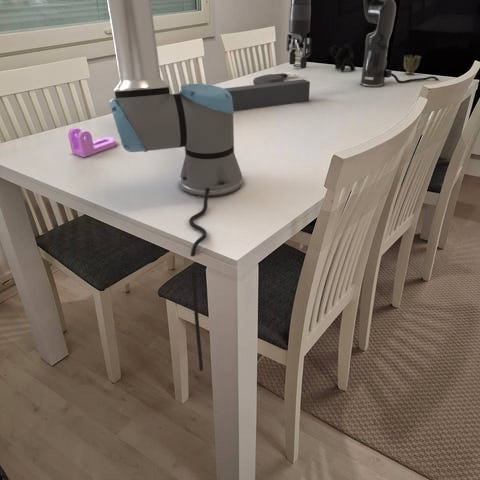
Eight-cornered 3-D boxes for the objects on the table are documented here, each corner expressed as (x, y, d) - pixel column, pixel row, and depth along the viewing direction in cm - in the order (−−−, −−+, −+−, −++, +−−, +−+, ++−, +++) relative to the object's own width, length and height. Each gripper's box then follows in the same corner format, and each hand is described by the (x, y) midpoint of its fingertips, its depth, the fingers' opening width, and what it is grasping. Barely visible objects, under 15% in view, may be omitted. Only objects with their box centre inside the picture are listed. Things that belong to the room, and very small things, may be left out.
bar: (124, 125, 151) (120, 104, 147) (121, 121, 155) (118, 100, 151) (308, 101, 174) (310, 81, 170) (302, 98, 177) (303, 79, 174)
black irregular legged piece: (345, 81, 223) (323, 62, 226) (359, 67, 223) (338, 48, 225) (346, 70, 212) (324, 50, 215) (362, 55, 211) (339, 35, 214)
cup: (399, 75, 209) (402, 56, 205) (402, 71, 214) (405, 54, 210) (416, 76, 206) (419, 57, 202) (418, 73, 211) (422, 55, 207)
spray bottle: (250, 85, 197) (282, 75, 213) (270, 88, 191) (301, 78, 207) (250, 78, 195) (282, 69, 211) (271, 81, 189) (302, 72, 206)
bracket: (84, 157, 126) (79, 133, 123) (72, 153, 129) (66, 129, 126) (119, 144, 135) (116, 121, 131) (108, 140, 138) (104, 118, 134)
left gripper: (136, -22, 123) (146, 59, 134) (120, -24, 143) (130, 47, 154) (108, -21, 121) (121, 62, 132) (96, -24, 140) (108, 49, 152)
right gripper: (319, 19, 154) (315, 68, 163) (299, 15, 165) (297, 62, 174) (300, 20, 152) (297, 70, 161) (281, 17, 163) (280, 63, 172)
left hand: (126, 54), depth 143 cm, fingers open, 13 cm apart
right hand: (297, 66), depth 167 cm, fingers open, 8 cm apart
